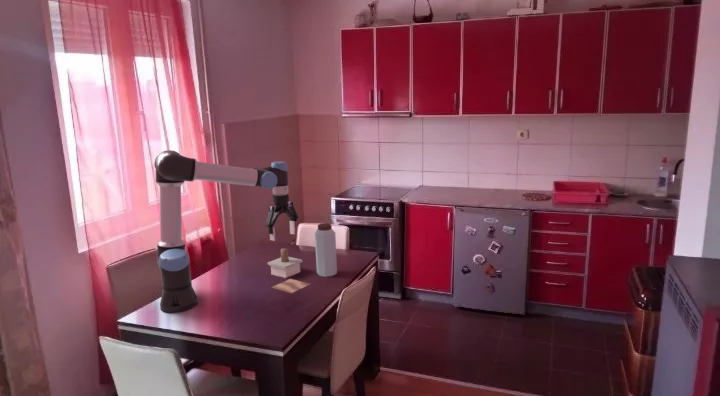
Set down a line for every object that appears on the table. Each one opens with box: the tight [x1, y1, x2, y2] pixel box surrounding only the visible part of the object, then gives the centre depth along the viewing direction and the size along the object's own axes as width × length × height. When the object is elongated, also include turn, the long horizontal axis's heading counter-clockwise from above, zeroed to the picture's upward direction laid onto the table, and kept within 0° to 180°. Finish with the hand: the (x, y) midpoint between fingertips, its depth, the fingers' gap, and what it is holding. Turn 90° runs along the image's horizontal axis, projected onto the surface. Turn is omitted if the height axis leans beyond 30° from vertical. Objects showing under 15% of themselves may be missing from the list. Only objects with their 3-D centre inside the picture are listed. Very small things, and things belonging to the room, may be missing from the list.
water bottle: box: [314, 222, 338, 278], centre depth 244 cm, size 10×10×25 cm
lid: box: [267, 247, 303, 269], centre depth 248 cm, size 12×12×7 cm
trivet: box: [270, 278, 311, 294], centre depth 233 cm, size 13×13×1 cm
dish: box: [270, 263, 301, 279], centre depth 249 cm, size 10×10×6 cm
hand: (282, 237), depth 246 cm, fingers open, 13 cm apart
